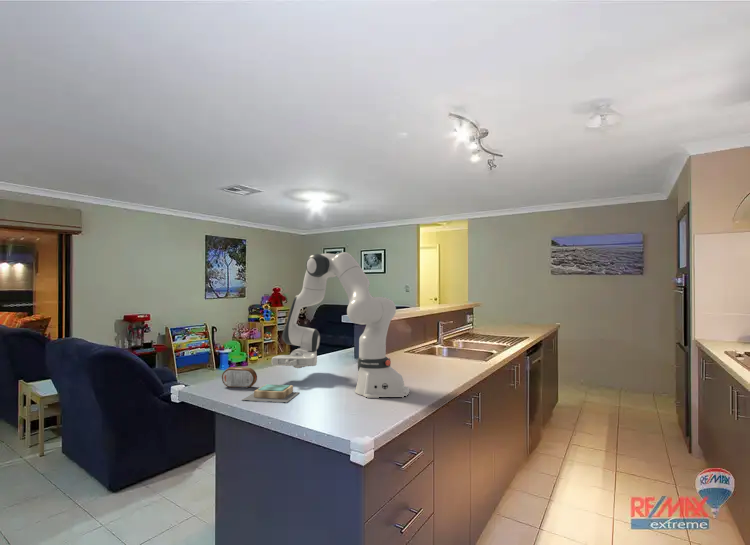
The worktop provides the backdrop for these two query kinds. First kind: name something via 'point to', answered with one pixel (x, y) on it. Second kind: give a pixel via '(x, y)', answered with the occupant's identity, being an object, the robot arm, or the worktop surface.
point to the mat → (286, 399)
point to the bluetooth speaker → (239, 377)
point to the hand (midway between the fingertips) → (288, 363)
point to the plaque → (273, 391)
